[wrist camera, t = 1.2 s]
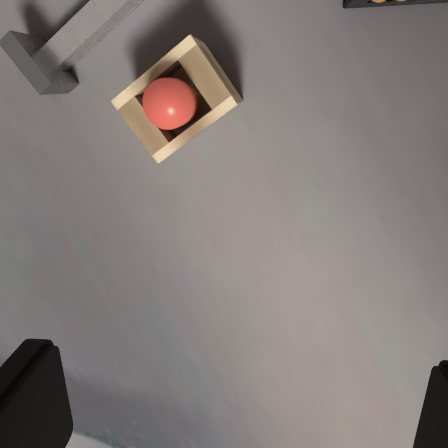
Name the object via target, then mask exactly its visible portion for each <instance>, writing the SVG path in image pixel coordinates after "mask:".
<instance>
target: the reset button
mask: <svg viewBox="0 0 448 448" xmlns="http://www.w3.org/2000/svg"><path fill="white" fill-rule="evenodd" d="M199 107H200V98H199V94H198V92H197V90H196V88H195V87H194V86H193V85H192V84H191V83H190V82H188V81H187V80H184V79H179V78H159V79H156V80H155V81H153V82H152V83H150V84H149V85H148V87H147V88H146V90H145V92H144V95H143V110H144V113H145V115H146V117H147V118H148V120H149V121H150V122H151V123H152V124H154V125H155V126H157V127H159V128H161V129H167V130H170V129H175V128H177V127H180V126H182V125H184V124H186V123H188V122H190V121H191V120H192V119H194V117H195V116H196V115H197V113H198V111H199Z"/></svg>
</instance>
